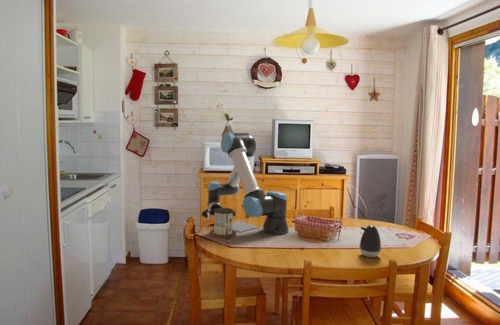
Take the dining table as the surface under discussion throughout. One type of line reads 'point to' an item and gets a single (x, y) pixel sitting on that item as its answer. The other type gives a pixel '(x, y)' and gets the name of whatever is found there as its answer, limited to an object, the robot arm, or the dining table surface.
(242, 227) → the slate mat
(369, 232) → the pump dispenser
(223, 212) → the coffee can
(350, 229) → the dining table surface
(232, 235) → the walnut ring collar
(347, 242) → the dining table surface
